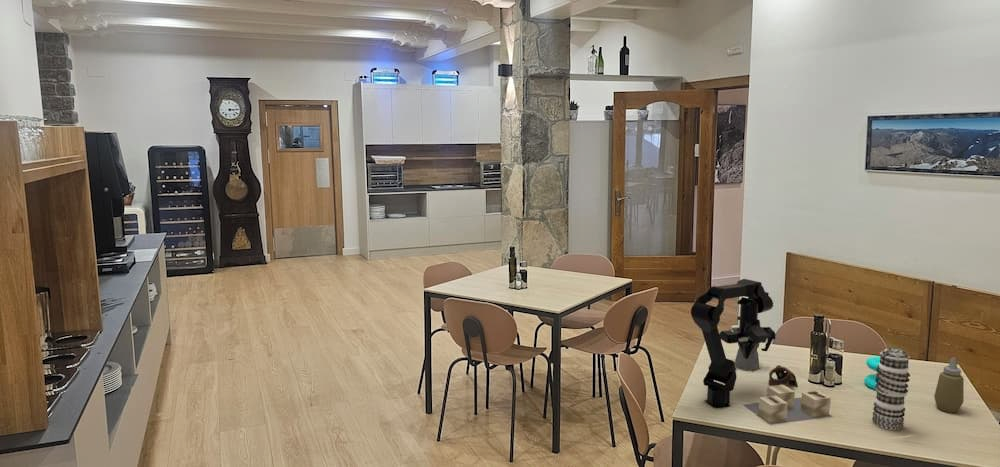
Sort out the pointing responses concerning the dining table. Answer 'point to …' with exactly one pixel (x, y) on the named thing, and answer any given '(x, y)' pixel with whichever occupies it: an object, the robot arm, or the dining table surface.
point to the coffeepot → (752, 360)
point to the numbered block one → (773, 409)
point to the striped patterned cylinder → (891, 389)
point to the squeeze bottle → (950, 388)
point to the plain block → (782, 394)
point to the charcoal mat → (792, 414)
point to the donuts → (871, 379)
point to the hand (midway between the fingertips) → (745, 358)
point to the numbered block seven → (815, 403)
